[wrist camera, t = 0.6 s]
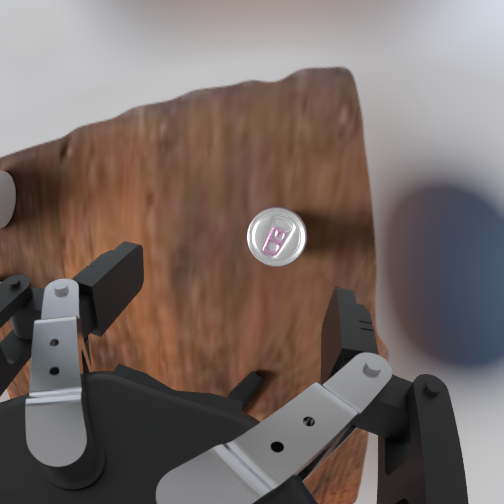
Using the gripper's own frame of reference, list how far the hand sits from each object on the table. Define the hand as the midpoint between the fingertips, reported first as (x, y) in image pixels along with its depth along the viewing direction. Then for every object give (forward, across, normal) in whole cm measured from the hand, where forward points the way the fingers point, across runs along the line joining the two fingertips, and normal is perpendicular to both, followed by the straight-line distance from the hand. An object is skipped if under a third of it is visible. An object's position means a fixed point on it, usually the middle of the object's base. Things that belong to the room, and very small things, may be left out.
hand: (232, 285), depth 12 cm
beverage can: (+31, +1, -10) cm, 33 cm away
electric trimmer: (+22, -1, -37) cm, 43 cm away
